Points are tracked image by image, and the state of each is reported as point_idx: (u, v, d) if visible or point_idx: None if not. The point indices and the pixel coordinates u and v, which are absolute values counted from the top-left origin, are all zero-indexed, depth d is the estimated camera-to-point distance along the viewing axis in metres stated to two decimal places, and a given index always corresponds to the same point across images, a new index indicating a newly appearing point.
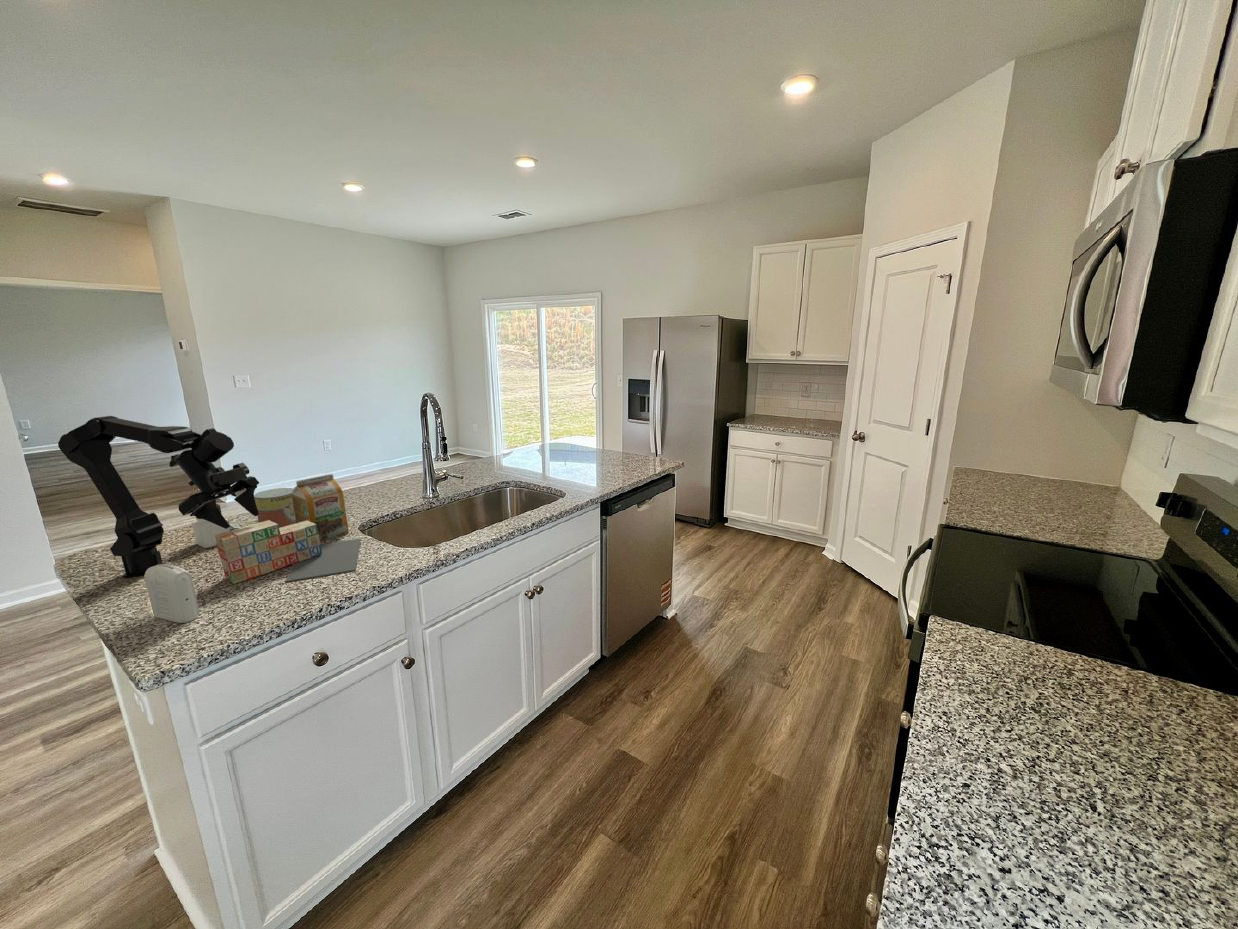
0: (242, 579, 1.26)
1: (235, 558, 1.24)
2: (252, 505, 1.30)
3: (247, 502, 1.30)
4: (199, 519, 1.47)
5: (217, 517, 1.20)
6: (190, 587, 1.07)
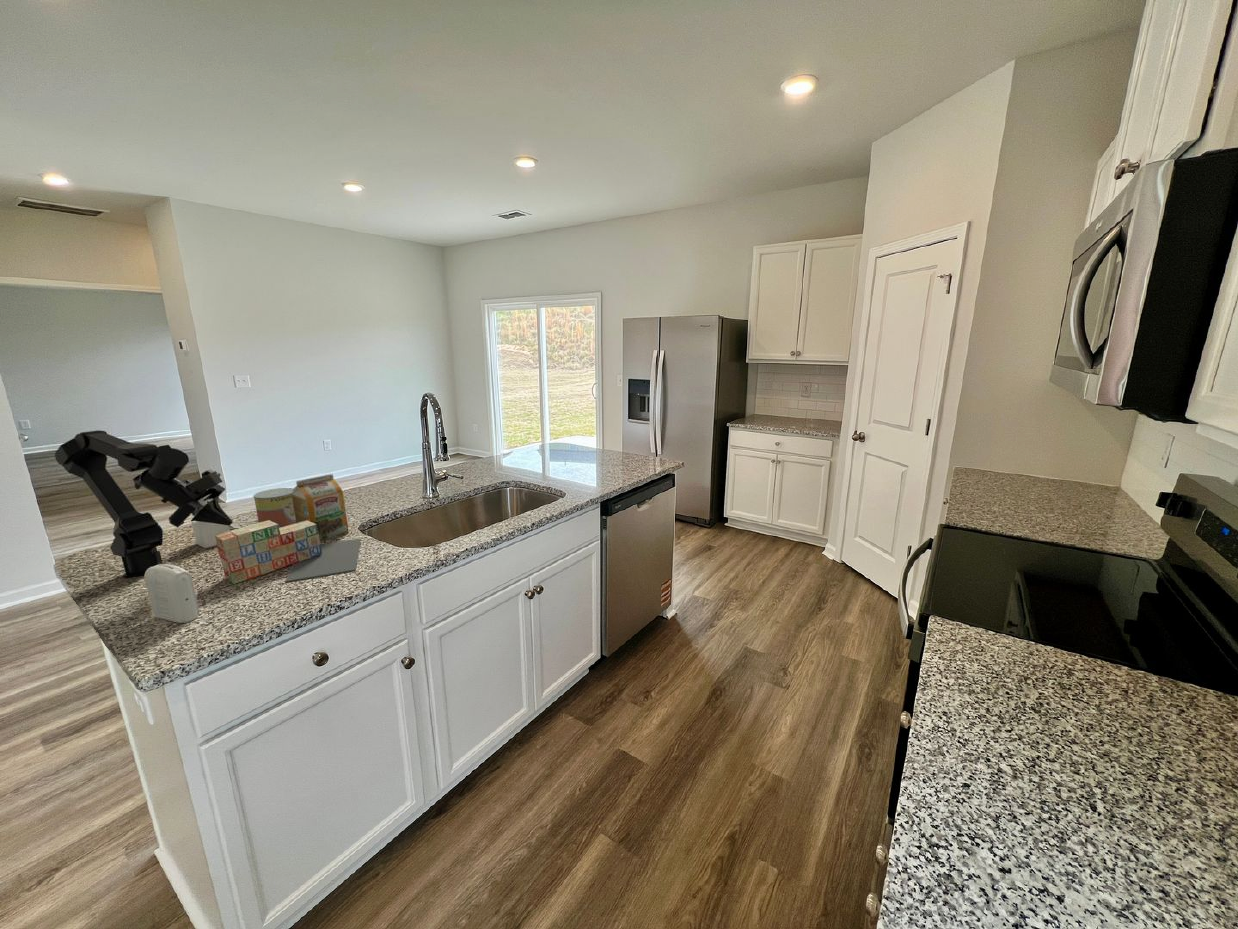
0: (242, 579, 1.26)
1: (235, 558, 1.24)
2: (223, 515, 1.28)
3: None
4: None
5: (219, 516, 1.26)
6: (190, 587, 1.07)
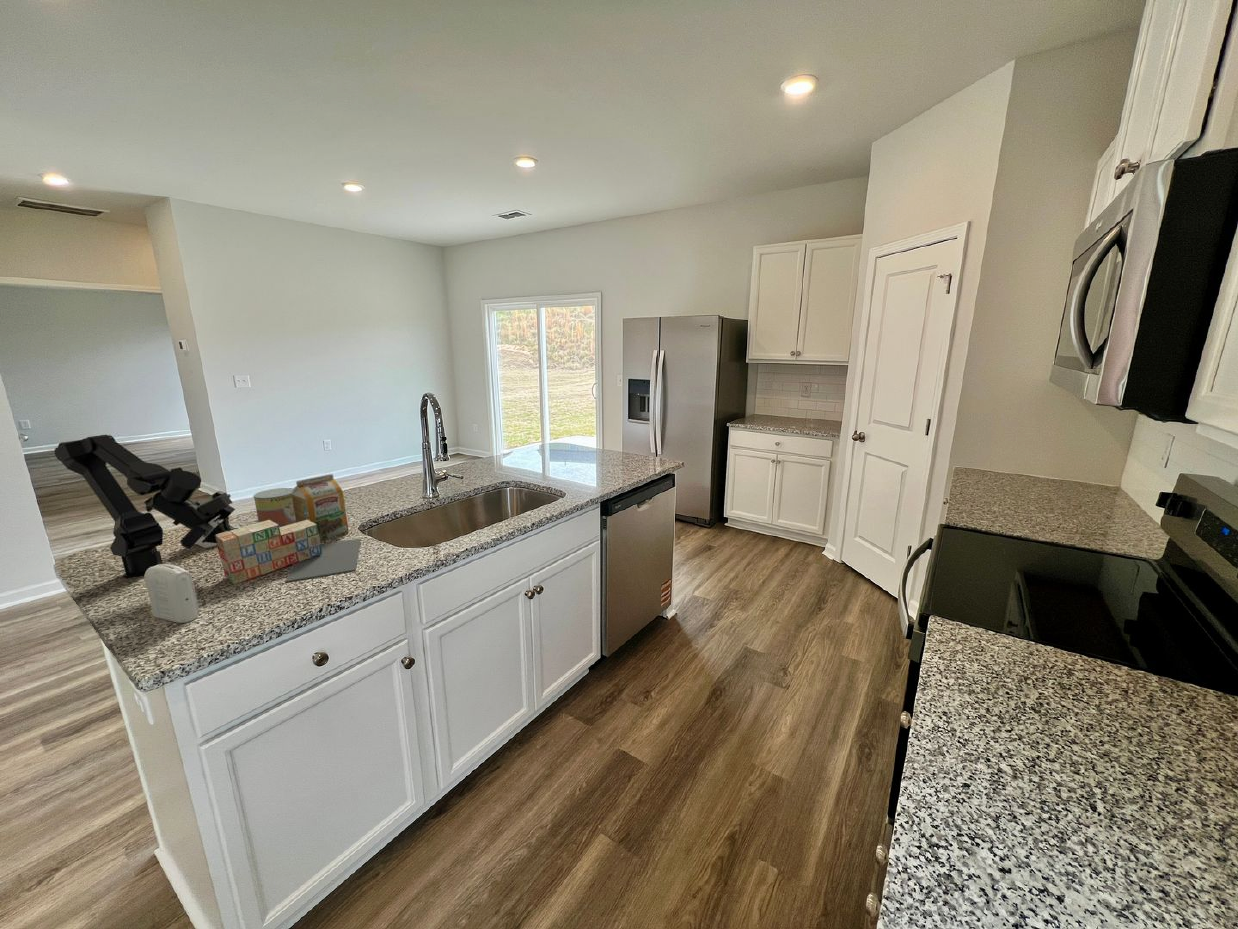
0: (242, 579, 1.26)
1: (235, 559, 1.24)
2: None
3: None
4: None
5: None
6: (190, 587, 1.07)
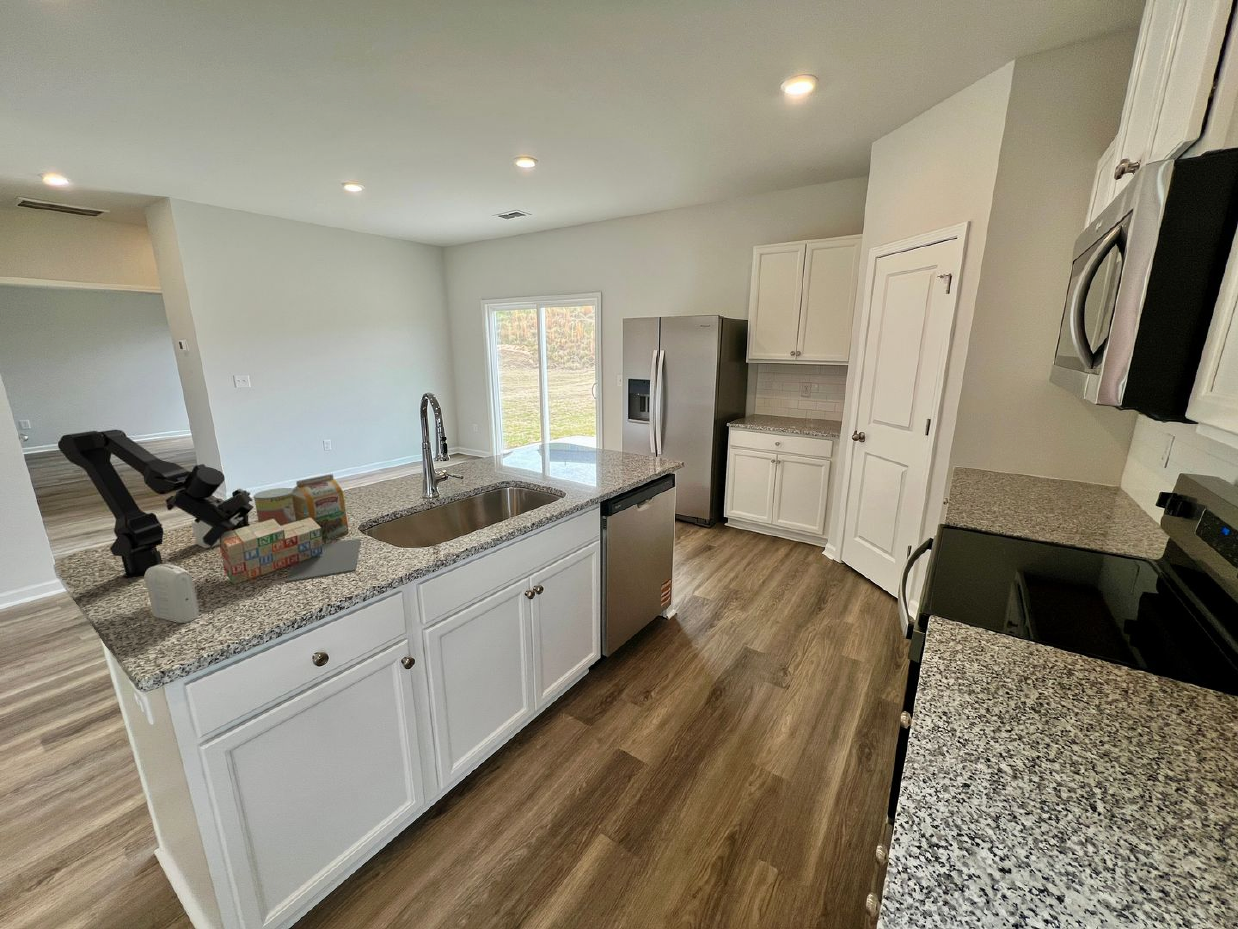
0: (242, 580, 1.26)
1: (238, 562, 1.23)
2: None
3: None
4: None
5: None
6: (190, 587, 1.07)
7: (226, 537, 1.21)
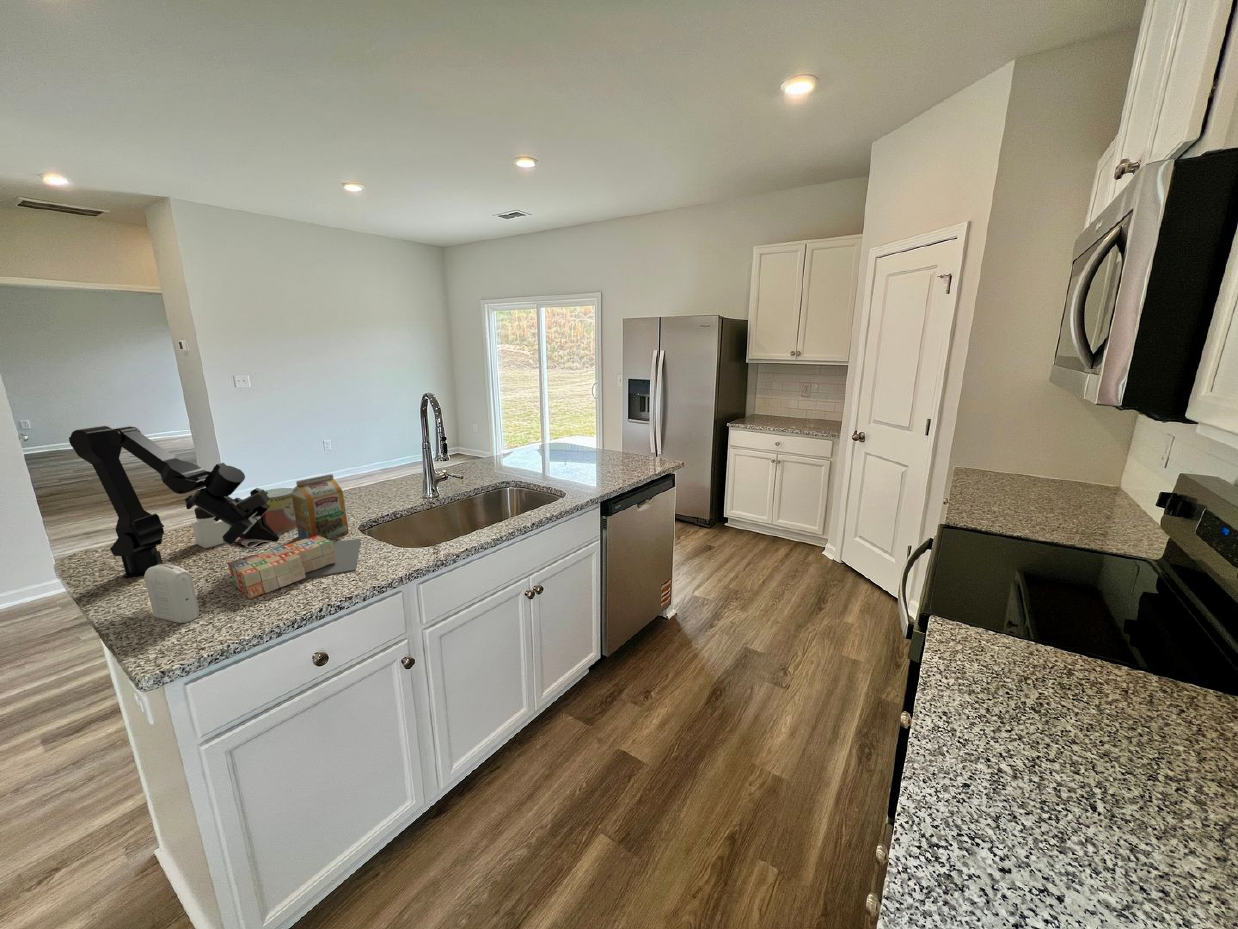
0: None
1: None
2: (270, 531, 1.32)
3: None
4: (199, 519, 1.47)
5: (267, 533, 1.30)
6: (190, 587, 1.07)
7: (251, 582, 1.17)
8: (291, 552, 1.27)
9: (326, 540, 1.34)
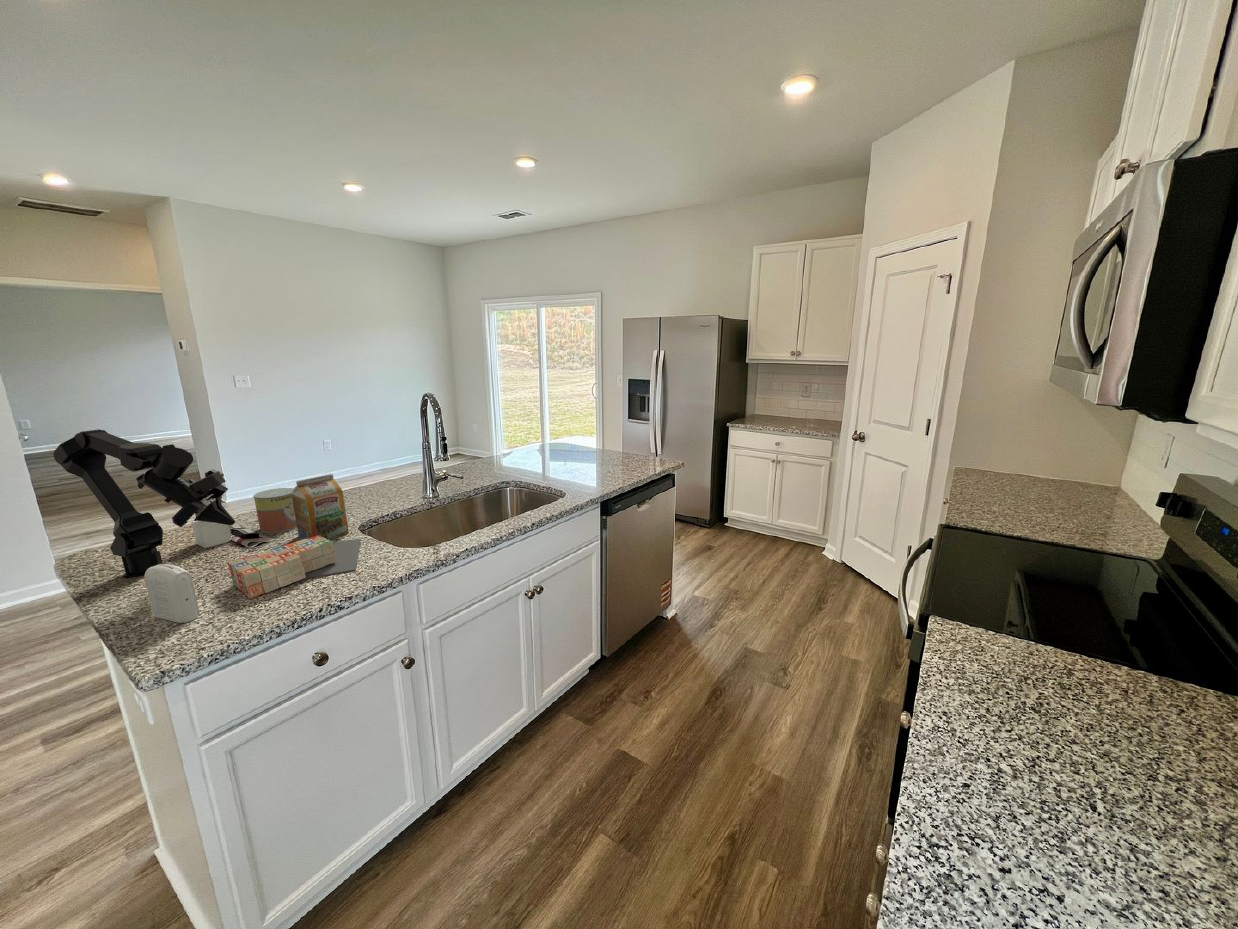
0: None
1: None
2: (226, 514, 1.28)
3: None
4: None
5: (222, 515, 1.26)
6: (190, 587, 1.07)
7: (251, 582, 1.17)
8: (291, 552, 1.27)
9: (326, 540, 1.34)
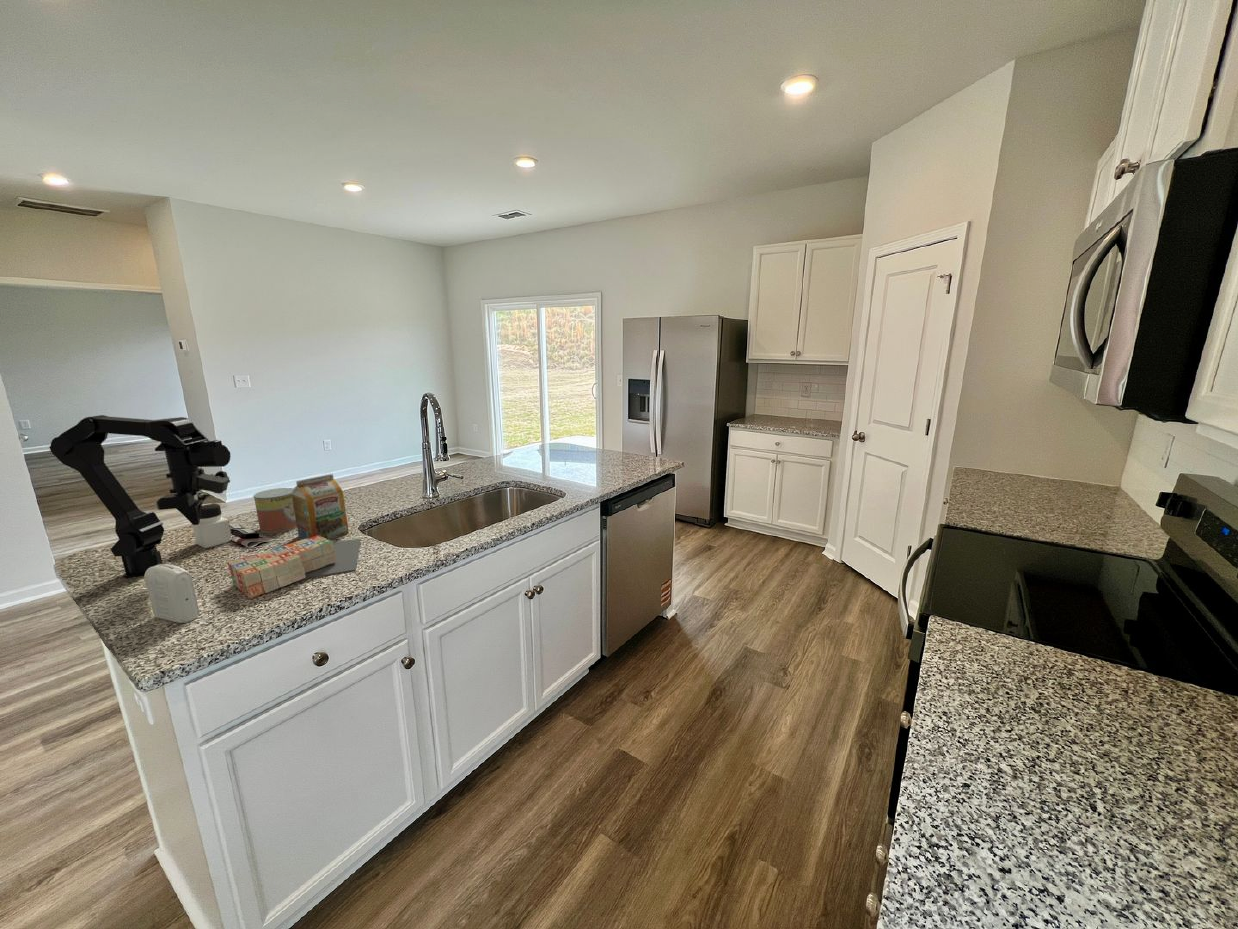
0: None
1: None
2: None
3: None
4: None
5: (194, 514, 1.28)
6: (190, 587, 1.07)
7: (251, 582, 1.17)
8: (291, 552, 1.27)
9: (326, 540, 1.34)
